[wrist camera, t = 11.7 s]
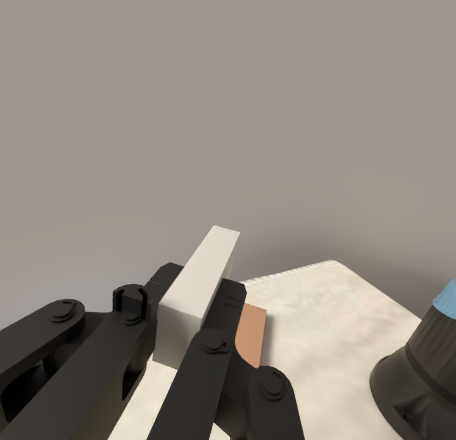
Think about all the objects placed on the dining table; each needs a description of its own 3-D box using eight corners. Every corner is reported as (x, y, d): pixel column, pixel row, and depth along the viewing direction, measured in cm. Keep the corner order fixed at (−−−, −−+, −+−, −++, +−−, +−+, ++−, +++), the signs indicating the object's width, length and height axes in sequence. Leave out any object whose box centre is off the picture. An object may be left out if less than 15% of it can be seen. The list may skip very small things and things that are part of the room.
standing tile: (253, 385, 40) (263, 320, 52) (258, 374, 39) (266, 310, 51) (168, 355, 42) (197, 299, 54) (170, 343, 40) (199, 288, 53)
